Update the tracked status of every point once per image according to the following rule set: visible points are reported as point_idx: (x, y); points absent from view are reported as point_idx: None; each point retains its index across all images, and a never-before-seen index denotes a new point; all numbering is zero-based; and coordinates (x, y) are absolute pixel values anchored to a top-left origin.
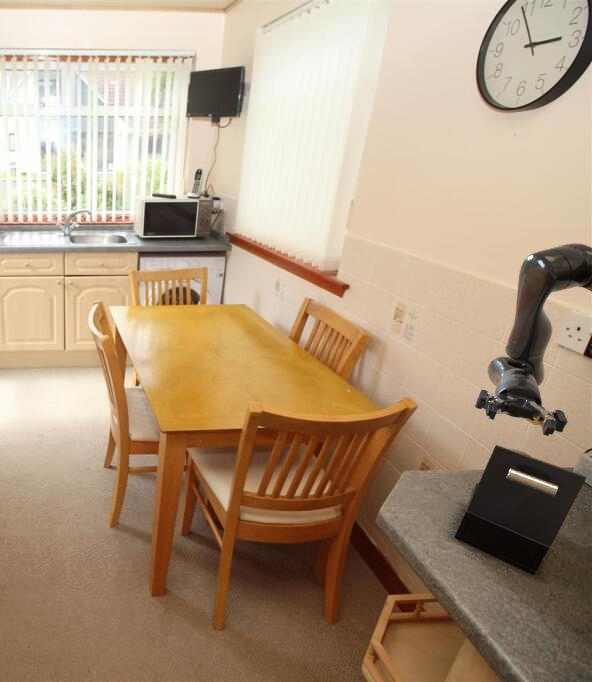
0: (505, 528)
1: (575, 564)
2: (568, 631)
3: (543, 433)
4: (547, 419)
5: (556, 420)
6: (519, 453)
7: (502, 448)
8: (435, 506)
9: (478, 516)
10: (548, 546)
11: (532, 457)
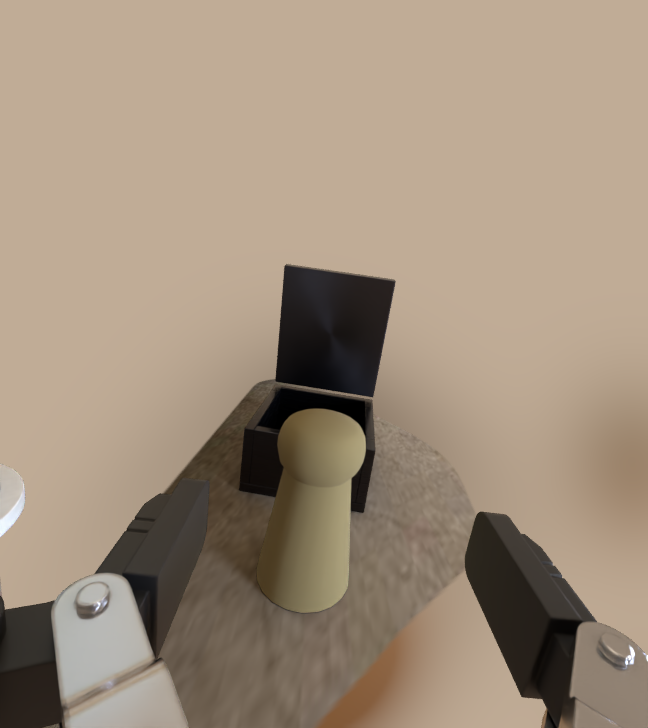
0: (324, 392)
1: (200, 463)
2: (255, 398)
3: (200, 548)
4: (157, 565)
5: (2, 670)
6: (364, 275)
7: (385, 278)
8: (406, 491)
9: (356, 397)
10: (276, 385)
11: (347, 273)
